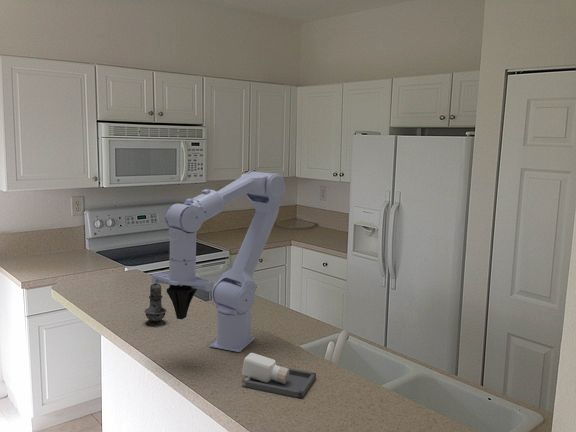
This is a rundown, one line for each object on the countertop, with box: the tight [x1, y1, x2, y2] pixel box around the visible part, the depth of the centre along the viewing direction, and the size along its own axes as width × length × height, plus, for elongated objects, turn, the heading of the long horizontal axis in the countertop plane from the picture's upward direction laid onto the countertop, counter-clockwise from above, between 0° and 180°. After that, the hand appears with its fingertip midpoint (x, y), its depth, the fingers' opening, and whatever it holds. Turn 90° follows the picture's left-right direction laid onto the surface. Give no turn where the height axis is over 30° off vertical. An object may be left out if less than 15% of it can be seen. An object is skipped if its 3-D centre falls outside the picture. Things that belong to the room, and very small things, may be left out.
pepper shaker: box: [241, 352, 289, 384], centre depth 113 cm, size 4×4×10 cm
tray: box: [241, 366, 317, 400], centre depth 113 cm, size 10×13×1 cm
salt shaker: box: [143, 283, 168, 328], centre depth 144 cm, size 6×6×12 cm
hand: (181, 317), depth 119 cm, fingers closed
